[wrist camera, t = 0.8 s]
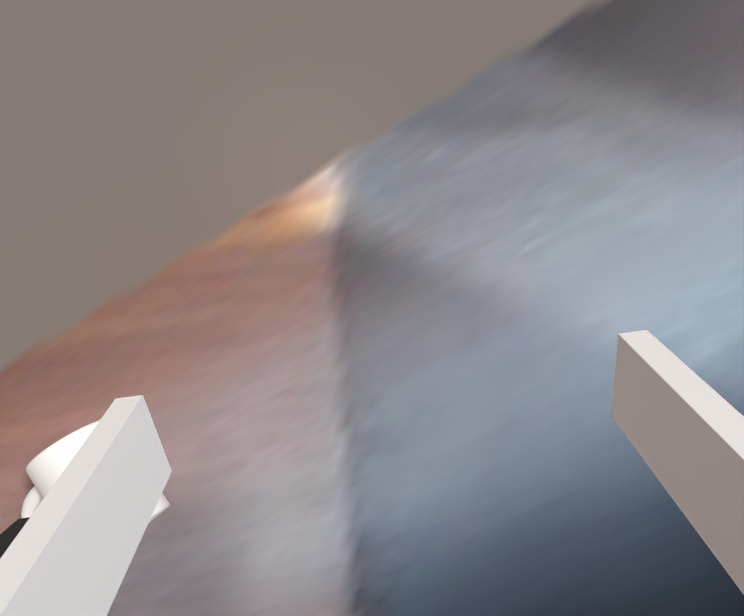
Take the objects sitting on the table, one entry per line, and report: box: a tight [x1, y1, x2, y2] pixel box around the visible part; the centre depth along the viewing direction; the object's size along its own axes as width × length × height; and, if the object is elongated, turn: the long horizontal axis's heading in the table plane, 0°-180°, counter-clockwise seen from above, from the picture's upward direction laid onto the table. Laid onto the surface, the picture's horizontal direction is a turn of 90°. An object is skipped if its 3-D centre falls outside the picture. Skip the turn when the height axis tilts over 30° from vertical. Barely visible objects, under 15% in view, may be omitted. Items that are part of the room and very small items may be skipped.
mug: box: [21, 420, 169, 522], centre depth 47 cm, size 12×10×8 cm
